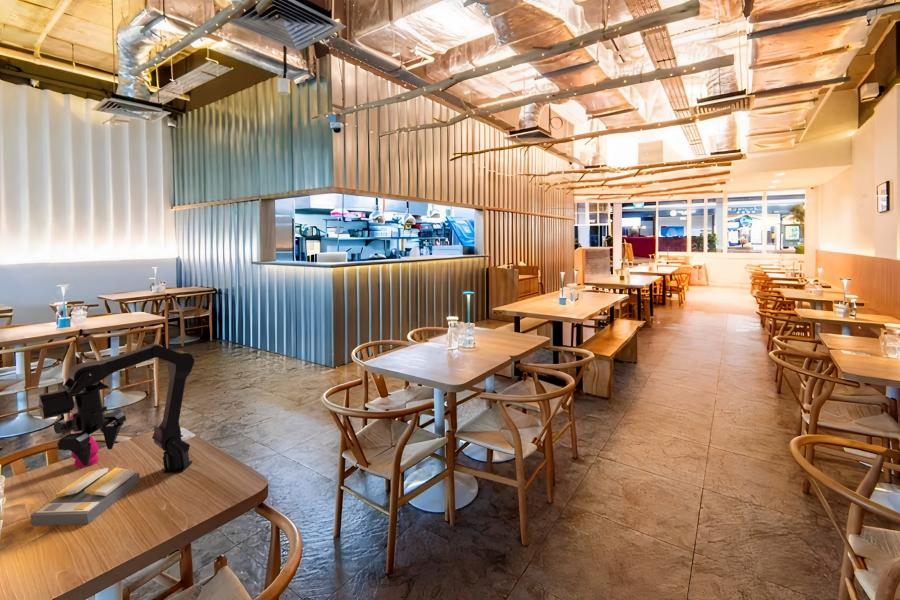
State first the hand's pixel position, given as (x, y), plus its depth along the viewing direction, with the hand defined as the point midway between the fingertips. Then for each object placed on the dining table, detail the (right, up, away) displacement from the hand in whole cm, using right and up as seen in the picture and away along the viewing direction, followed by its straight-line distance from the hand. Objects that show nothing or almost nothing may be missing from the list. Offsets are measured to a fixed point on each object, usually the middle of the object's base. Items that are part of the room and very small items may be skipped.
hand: (98, 456), depth 128 cm
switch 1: (-6, -9, +2) cm, 11 cm away
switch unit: (-2, -13, -1) cm, 13 cm away
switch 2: (+2, -8, +2) cm, 9 cm away
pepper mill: (-22, -10, +22) cm, 33 cm away
